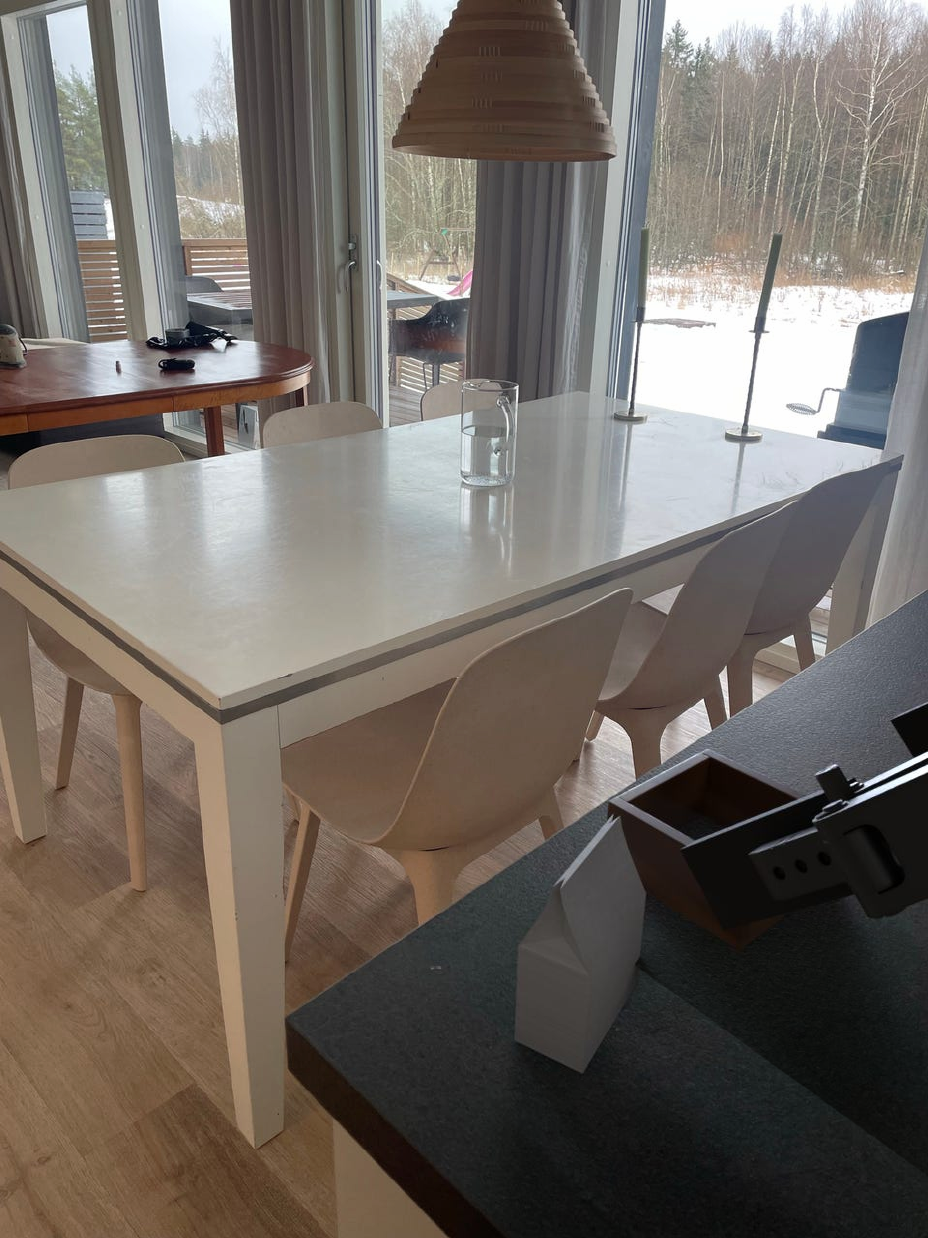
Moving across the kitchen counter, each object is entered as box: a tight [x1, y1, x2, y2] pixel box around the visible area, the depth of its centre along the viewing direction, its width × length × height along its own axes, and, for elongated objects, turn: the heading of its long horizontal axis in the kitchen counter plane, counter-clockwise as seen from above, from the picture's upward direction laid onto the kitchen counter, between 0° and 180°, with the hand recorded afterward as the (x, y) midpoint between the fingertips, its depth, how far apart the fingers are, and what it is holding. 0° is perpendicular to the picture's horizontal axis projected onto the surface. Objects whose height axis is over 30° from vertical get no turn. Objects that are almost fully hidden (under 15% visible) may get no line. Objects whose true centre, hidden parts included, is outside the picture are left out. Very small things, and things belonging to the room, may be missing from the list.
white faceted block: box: [514, 815, 647, 1074], centre depth 46 cm, size 4×7×10 cm, turn 148°
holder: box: [606, 748, 807, 951], centre depth 55 cm, size 10×10×6 cm
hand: (822, 808), depth 33 cm, fingers open, 13 cm apart
